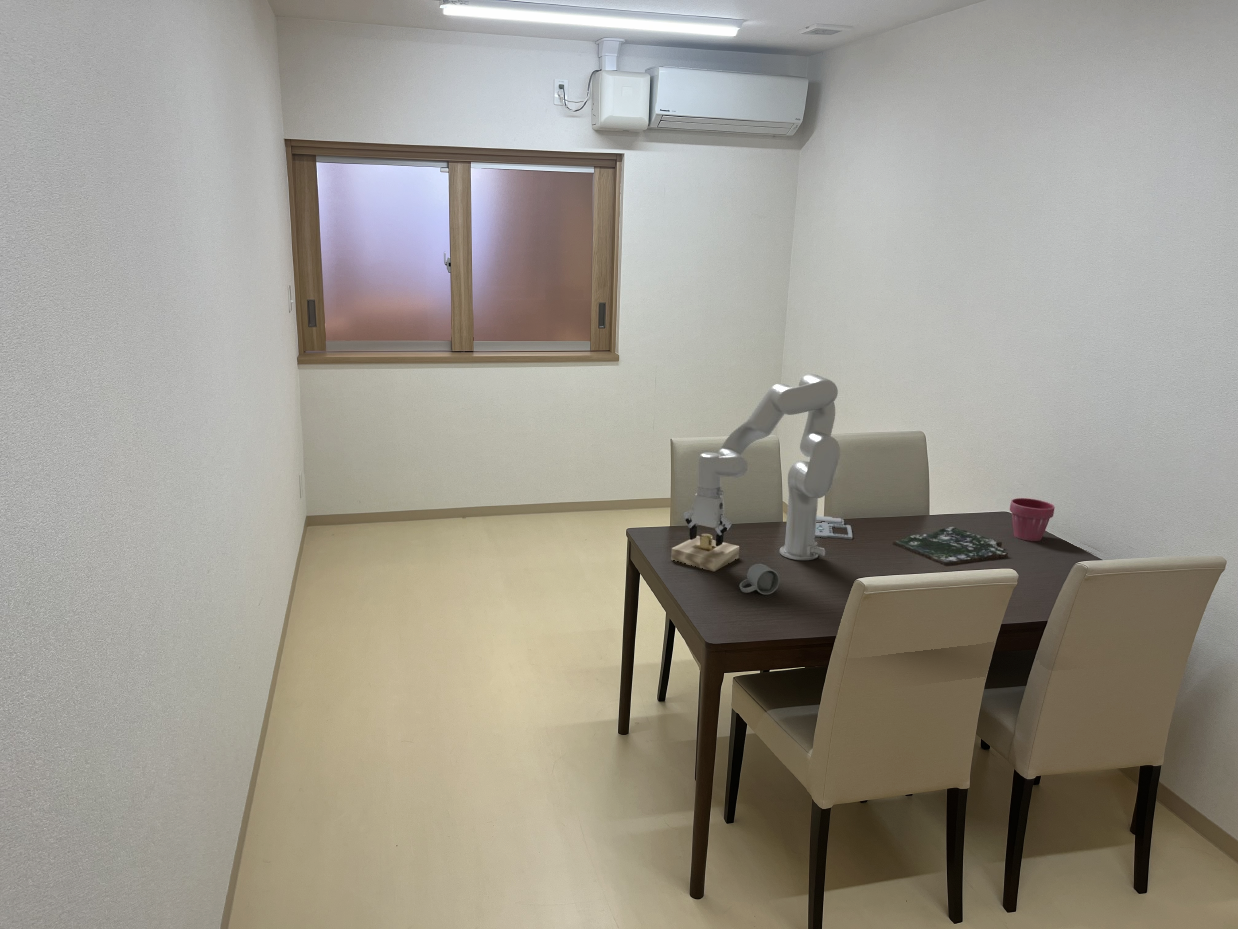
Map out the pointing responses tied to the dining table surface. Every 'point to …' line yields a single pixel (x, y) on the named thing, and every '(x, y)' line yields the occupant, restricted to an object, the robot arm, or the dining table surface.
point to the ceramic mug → (760, 579)
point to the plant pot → (1030, 518)
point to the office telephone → (826, 529)
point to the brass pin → (706, 542)
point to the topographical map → (952, 546)
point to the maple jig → (705, 554)
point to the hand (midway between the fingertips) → (705, 542)
